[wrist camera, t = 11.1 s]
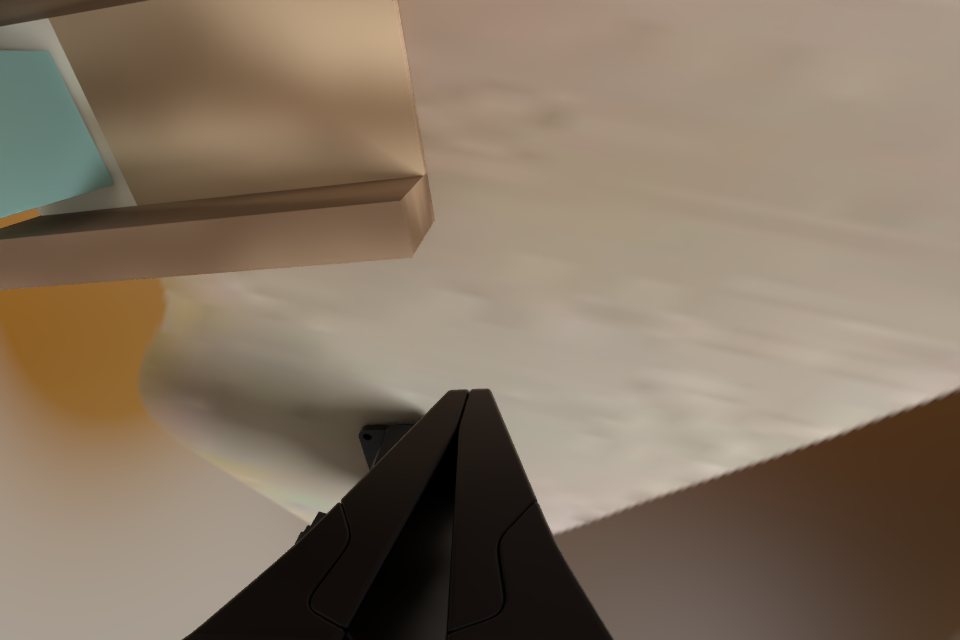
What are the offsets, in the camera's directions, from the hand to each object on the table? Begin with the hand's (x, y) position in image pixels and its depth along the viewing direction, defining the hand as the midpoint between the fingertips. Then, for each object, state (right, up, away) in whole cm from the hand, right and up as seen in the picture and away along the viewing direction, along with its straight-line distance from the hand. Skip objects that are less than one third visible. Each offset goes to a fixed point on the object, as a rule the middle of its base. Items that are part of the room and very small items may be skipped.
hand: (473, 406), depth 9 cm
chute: (-11, +10, +9) cm, 18 cm away
